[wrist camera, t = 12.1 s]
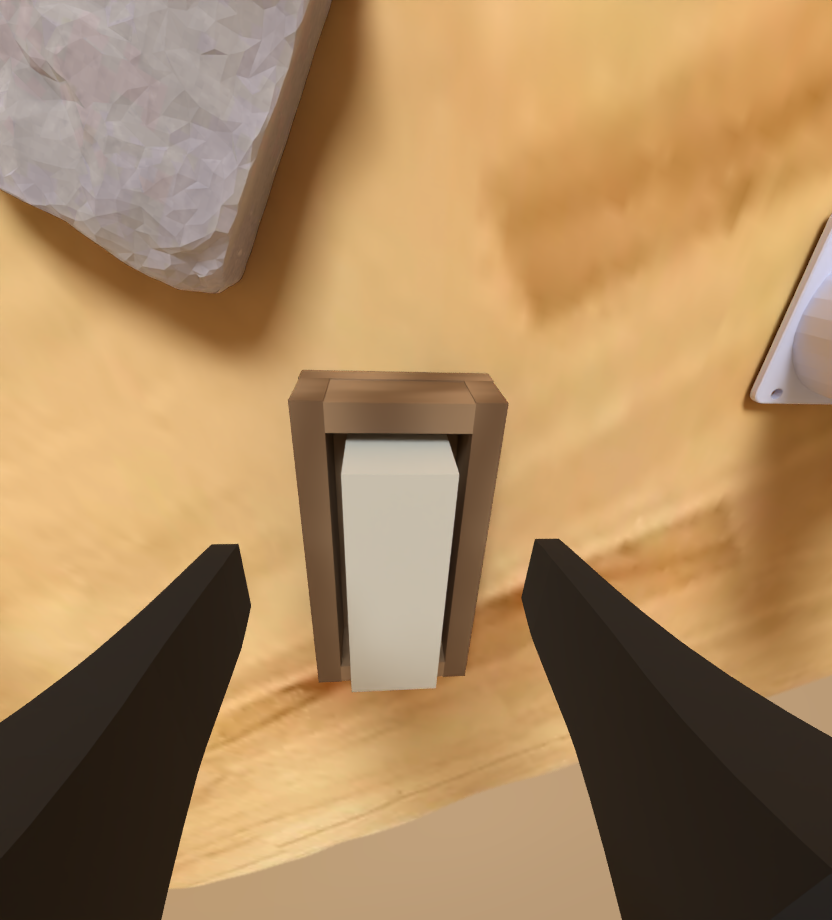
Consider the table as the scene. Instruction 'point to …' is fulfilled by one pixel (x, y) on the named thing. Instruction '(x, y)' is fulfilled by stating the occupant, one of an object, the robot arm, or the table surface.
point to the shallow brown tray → (320, 489)
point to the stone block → (154, 122)
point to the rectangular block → (397, 555)
